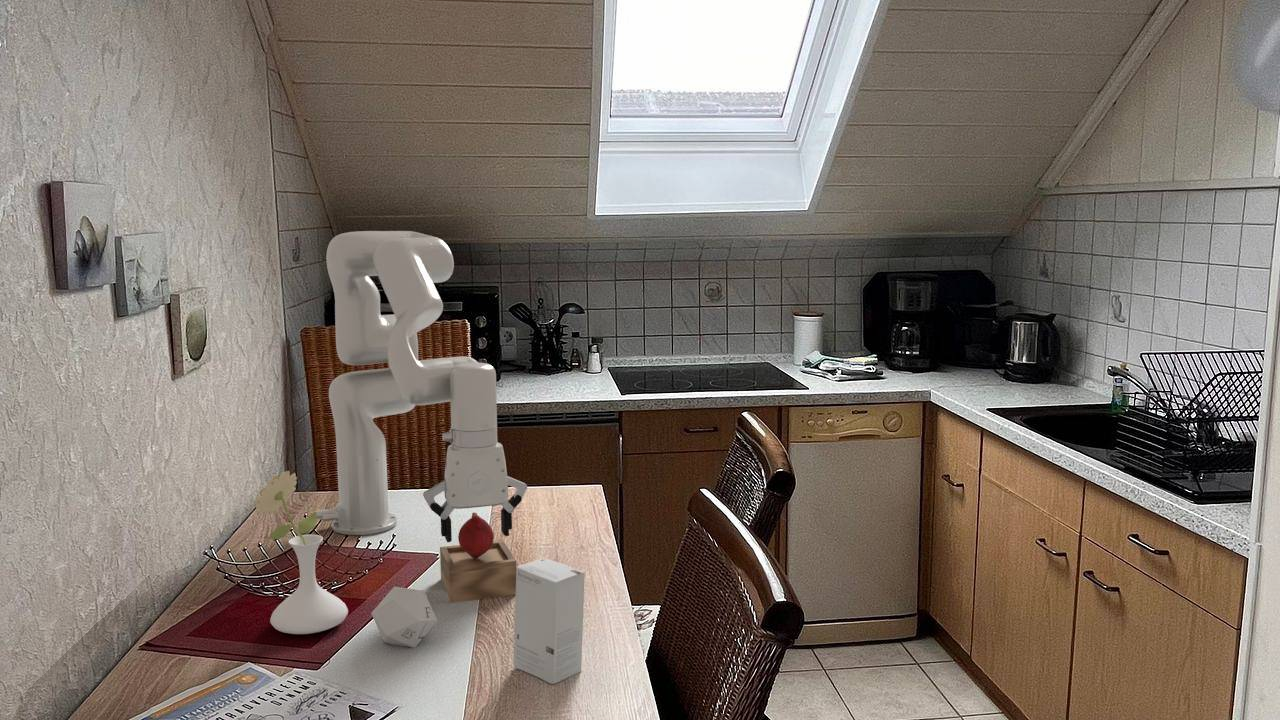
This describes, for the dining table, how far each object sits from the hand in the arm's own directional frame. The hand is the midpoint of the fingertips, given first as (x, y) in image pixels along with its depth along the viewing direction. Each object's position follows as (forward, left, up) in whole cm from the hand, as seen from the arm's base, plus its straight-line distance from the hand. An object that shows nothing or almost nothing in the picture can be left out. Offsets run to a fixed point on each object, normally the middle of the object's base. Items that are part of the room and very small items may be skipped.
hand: (476, 536), depth 168 cm
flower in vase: (-28, -8, -9) cm, 30 cm away
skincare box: (+4, -34, -9) cm, 35 cm away
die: (-14, -18, -9) cm, 25 cm away
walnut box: (0, 0, -9) cm, 9 cm away
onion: (0, 0, -4) cm, 4 cm away
